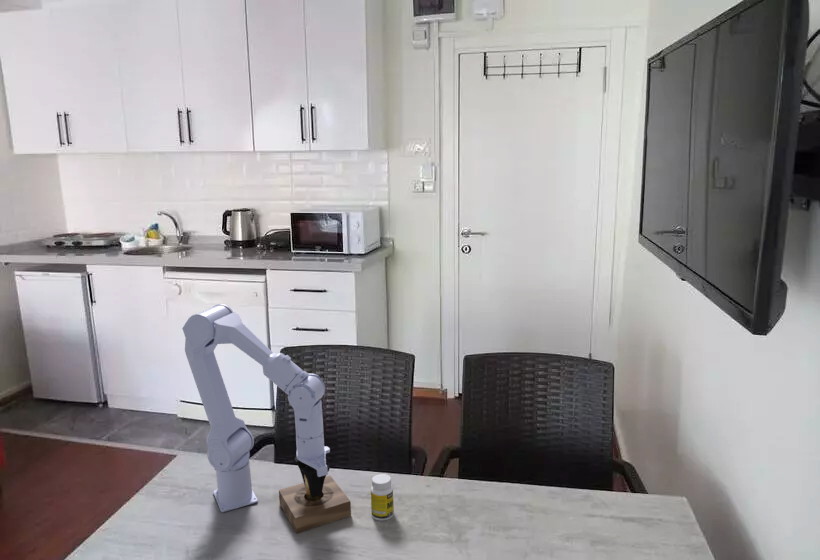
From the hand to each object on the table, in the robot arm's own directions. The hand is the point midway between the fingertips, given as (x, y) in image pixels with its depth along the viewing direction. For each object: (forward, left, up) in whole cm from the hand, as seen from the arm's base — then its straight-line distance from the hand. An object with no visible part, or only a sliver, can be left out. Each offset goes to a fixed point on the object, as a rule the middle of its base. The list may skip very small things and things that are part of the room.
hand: (313, 491), depth 129 cm
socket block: (0, 0, -4) cm, 4 cm away
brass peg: (0, 0, -2) cm, 2 cm away
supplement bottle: (+9, +12, -5) cm, 16 cm away
